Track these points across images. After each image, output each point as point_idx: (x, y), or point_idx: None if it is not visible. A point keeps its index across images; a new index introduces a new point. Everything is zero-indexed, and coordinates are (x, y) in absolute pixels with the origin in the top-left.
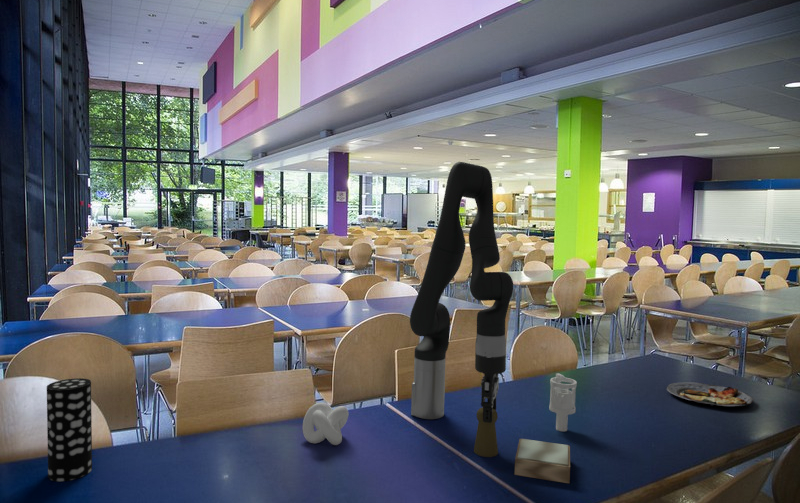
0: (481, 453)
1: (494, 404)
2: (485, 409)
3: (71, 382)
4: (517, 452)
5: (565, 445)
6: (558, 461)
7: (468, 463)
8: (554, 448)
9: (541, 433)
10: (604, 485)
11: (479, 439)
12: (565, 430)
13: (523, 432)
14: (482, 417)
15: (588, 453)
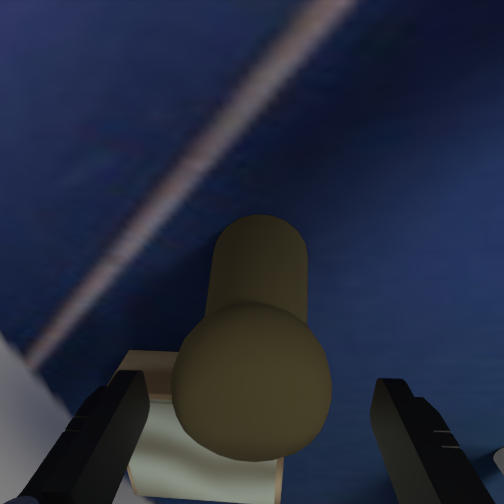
0: (213, 253)
1: (390, 464)
2: (30, 491)
3: None
4: (159, 396)
5: (268, 501)
6: (144, 482)
7: (130, 212)
8: (232, 480)
9: (472, 410)
10: None
11: (217, 266)
12: (497, 465)
13: (478, 365)
14: (174, 365)
15: (338, 487)
